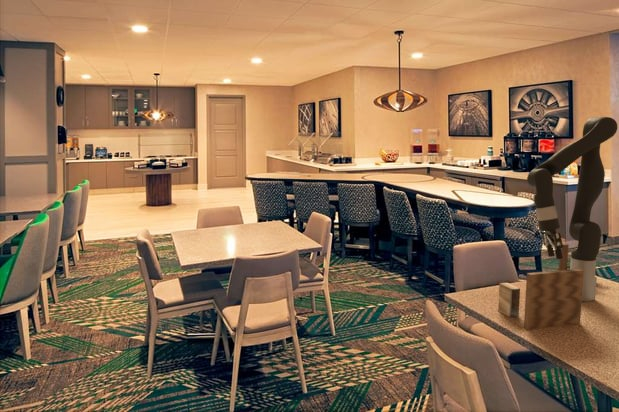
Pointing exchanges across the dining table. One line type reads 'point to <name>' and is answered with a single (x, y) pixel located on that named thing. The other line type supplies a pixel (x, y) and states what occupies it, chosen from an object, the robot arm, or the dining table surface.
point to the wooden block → (564, 258)
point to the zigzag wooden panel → (553, 298)
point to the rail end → (509, 299)
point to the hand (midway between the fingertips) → (555, 257)
